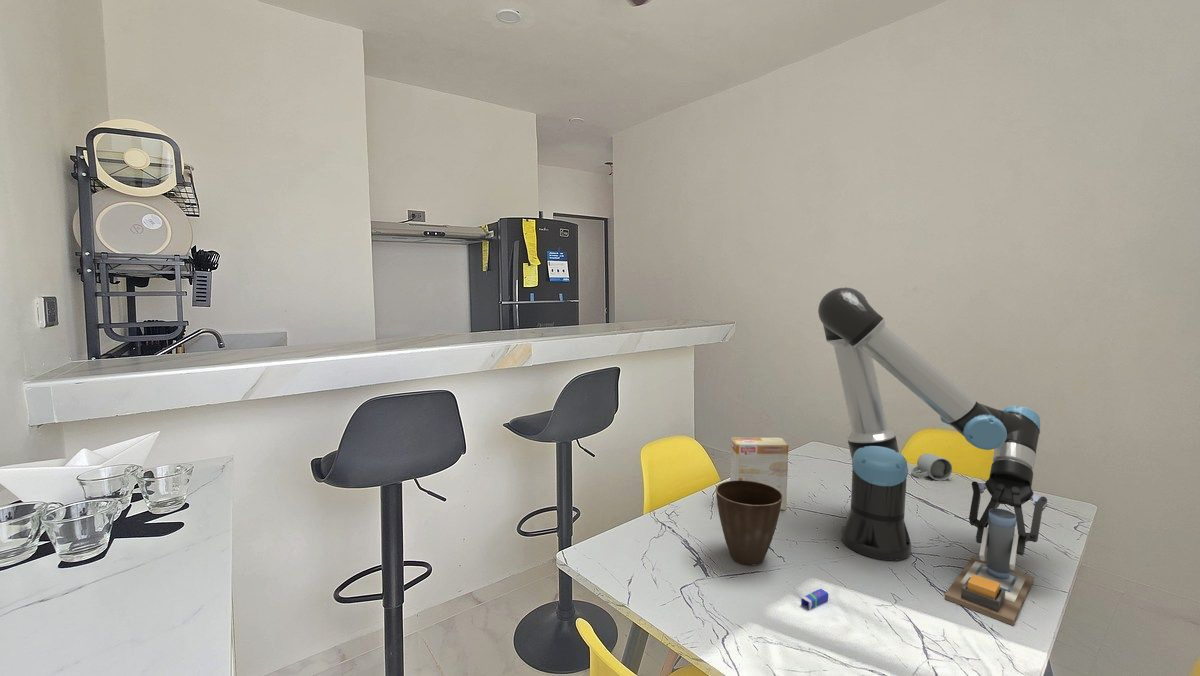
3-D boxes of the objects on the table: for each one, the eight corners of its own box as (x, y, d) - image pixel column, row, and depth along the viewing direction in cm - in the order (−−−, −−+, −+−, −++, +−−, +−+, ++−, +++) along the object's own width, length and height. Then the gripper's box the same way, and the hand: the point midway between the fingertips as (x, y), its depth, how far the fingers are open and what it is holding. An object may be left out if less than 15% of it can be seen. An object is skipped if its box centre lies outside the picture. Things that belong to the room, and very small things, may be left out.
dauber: (997, 580, 107) (1001, 519, 105) (979, 568, 112) (983, 509, 110) (1017, 578, 108) (1022, 517, 106) (998, 566, 112) (1003, 507, 110)
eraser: (800, 606, 101) (800, 596, 101) (820, 597, 104) (820, 588, 104) (808, 611, 99) (809, 601, 99) (828, 602, 102) (829, 593, 102)
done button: (994, 601, 98) (995, 591, 98) (967, 591, 101) (967, 582, 101) (999, 592, 101) (1000, 583, 101) (972, 583, 104) (973, 574, 104)
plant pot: (702, 547, 123) (703, 484, 122) (752, 537, 128) (754, 476, 127) (739, 580, 109) (741, 509, 108) (794, 567, 115) (796, 499, 113)
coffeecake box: (779, 500, 151) (781, 437, 149) (786, 510, 144) (789, 444, 142) (728, 499, 152) (730, 436, 150) (734, 509, 145) (736, 443, 143)
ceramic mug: (935, 472, 175) (936, 450, 174) (952, 480, 167) (953, 458, 166) (905, 472, 175) (906, 451, 174) (920, 481, 167) (921, 459, 166)
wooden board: (1013, 625, 95) (1014, 610, 94) (944, 598, 103) (945, 585, 103) (1033, 581, 109) (1034, 567, 109) (971, 560, 117) (972, 548, 117)
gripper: (1062, 485, 112) (1051, 586, 102) (967, 466, 125) (949, 554, 114) (1063, 468, 108) (1052, 571, 98) (965, 450, 120) (945, 540, 110)
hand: (996, 562), depth 106 cm, fingers closed on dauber, 4 cm apart
